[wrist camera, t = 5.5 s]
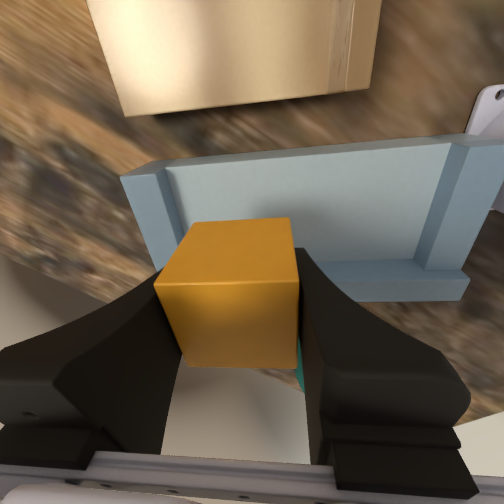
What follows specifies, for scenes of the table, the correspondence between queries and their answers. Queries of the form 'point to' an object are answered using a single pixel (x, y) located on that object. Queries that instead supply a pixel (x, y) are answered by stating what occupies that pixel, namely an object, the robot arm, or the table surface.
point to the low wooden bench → (233, 50)
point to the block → (234, 294)
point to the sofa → (340, 207)
